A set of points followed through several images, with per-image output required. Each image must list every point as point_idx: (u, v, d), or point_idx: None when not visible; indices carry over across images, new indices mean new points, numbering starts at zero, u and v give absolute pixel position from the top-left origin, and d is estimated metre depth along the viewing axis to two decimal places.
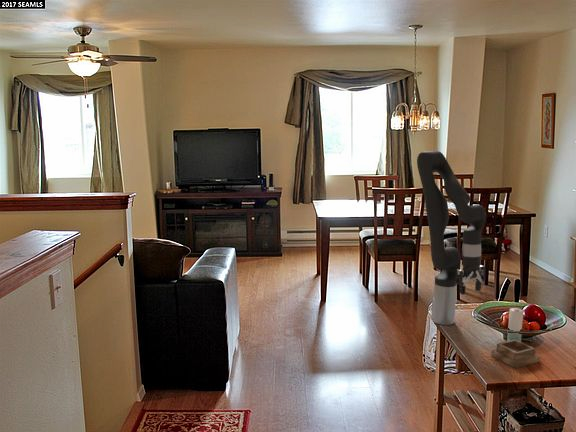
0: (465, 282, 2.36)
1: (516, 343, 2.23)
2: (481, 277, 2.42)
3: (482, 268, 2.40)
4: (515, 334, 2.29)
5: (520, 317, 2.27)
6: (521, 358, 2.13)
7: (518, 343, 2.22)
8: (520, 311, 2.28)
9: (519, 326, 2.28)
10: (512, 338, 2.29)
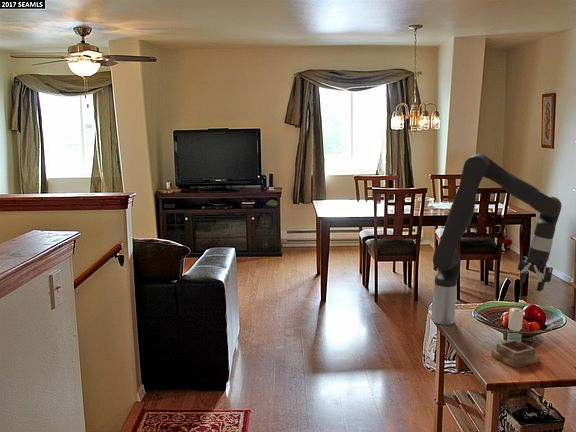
0: (544, 278, 2.26)
1: (516, 343, 2.23)
2: (522, 268, 2.34)
3: None
4: (515, 334, 2.29)
5: (520, 317, 2.27)
6: (521, 358, 2.13)
7: (518, 343, 2.22)
8: (520, 311, 2.28)
9: (519, 326, 2.28)
10: (512, 338, 2.29)
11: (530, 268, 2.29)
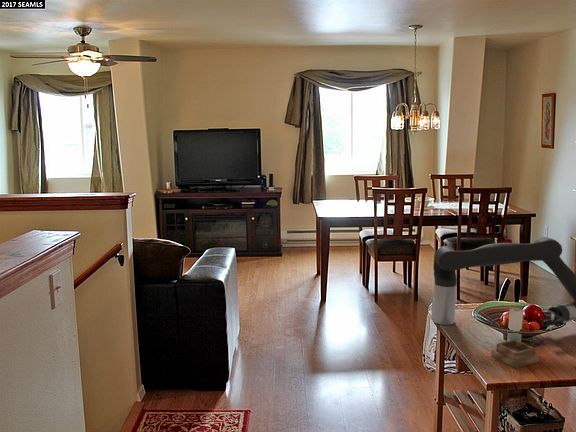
0: None
1: (516, 343, 2.23)
2: None
3: None
4: (515, 334, 2.29)
5: (520, 317, 2.27)
6: (521, 358, 2.13)
7: (518, 343, 2.22)
8: (520, 311, 2.28)
9: (519, 326, 2.28)
10: (512, 338, 2.29)
11: (545, 313, 2.39)
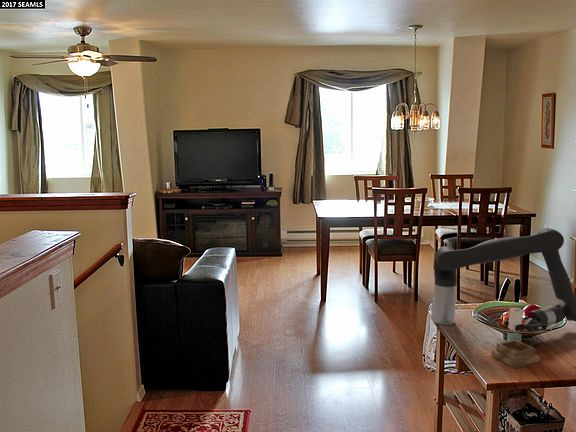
0: None
1: (516, 343, 2.23)
2: None
3: None
4: (515, 334, 2.29)
5: (520, 317, 2.27)
6: (521, 358, 2.13)
7: (518, 343, 2.22)
8: (520, 311, 2.28)
9: None
10: (512, 338, 2.29)
11: (524, 319, 2.33)
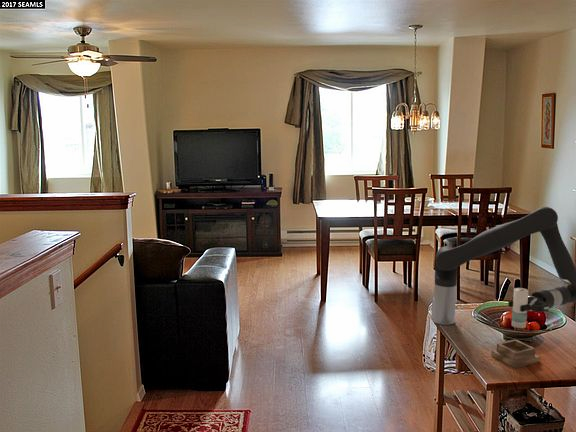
0: None
1: (516, 343, 2.23)
2: None
3: None
4: (520, 315, 2.16)
5: (526, 297, 2.15)
6: (521, 358, 2.13)
7: (518, 343, 2.22)
8: (525, 291, 2.16)
9: None
10: (517, 319, 2.17)
11: (529, 299, 2.21)
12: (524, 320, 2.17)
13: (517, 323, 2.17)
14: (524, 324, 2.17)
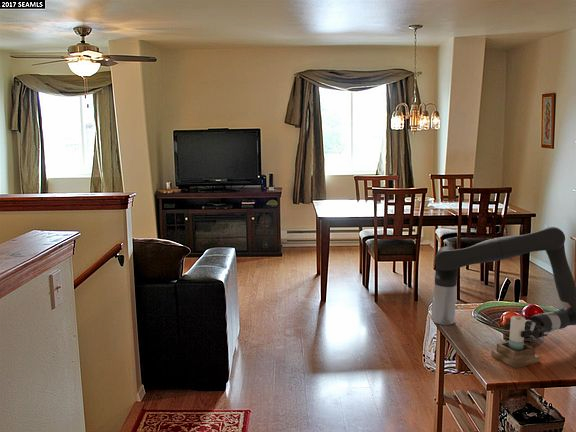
0: None
1: None
2: None
3: None
4: (517, 344, 2.15)
5: (522, 326, 2.14)
6: (521, 358, 2.13)
7: None
8: (522, 319, 2.14)
9: None
10: (514, 348, 2.16)
11: (525, 323, 2.20)
12: (521, 348, 2.16)
13: None
14: None
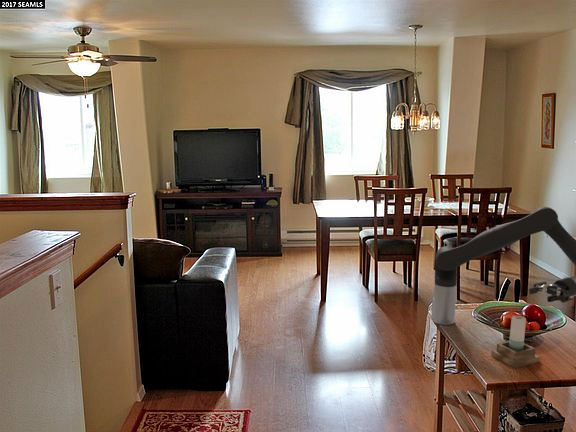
0: None
1: None
2: None
3: (545, 287, 2.28)
4: (517, 343, 2.15)
5: (523, 325, 2.14)
6: (521, 358, 2.13)
7: None
8: (523, 319, 2.15)
9: (521, 335, 2.15)
10: (514, 347, 2.16)
11: (550, 287, 2.23)
12: (521, 348, 2.16)
13: None
14: None
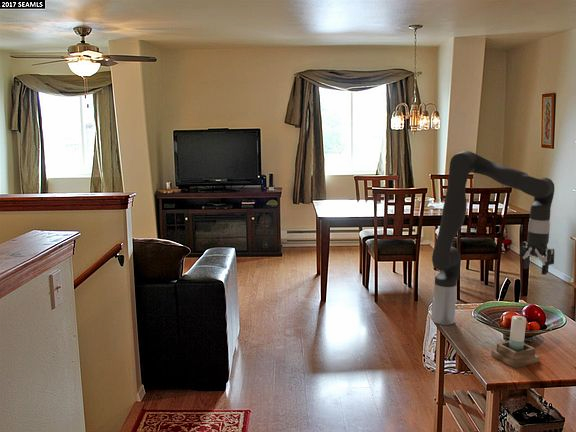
0: (547, 260, 2.21)
1: None
2: (524, 253, 2.30)
3: None
4: (517, 343, 2.15)
5: (523, 326, 2.14)
6: (521, 358, 2.13)
7: None
8: (523, 319, 2.14)
9: (521, 335, 2.14)
10: (514, 347, 2.16)
11: (532, 253, 2.25)
12: (521, 348, 2.16)
13: None
14: None
